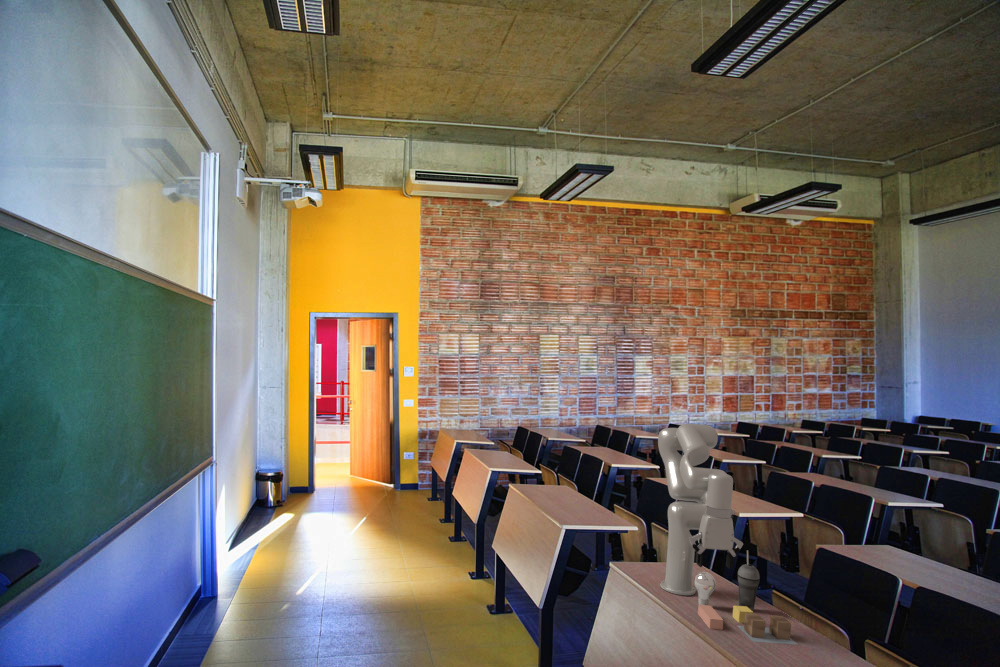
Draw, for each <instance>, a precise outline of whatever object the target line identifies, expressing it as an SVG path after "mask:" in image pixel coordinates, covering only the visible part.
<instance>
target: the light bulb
mask: <svg viewBox="0 0 1000 667" xmlns="http://www.w3.org/2000/svg"><path fill="white" fill-rule="evenodd" d="M693 580H694V581H693V583H694V587H695V588H696V593H697V597H698V600H697V601H698V606H699V605H708V606H709V602H710V601H709V600H710V598H711V595H712V594H713V593H714V591H715V589H716V587H717V586H716V585H717V582H716V579H715V577H714V576H713V575H712V574H711V573H710V572H707V571H700V572H698V573H696V574H695V577H694V579H693Z"/></svg>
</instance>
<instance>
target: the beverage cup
mask: <svg viewBox="0 0 1000 667" xmlns="http://www.w3.org/2000/svg"><path fill="white" fill-rule="evenodd" d="M749 554H750V553H749V550H746V564H742V565H741V566H740V567H739V568H738V571H737V574H736V575H737V581H738V606H747V607H748V608H749V609H750V610H751V611H752V612H754V610H755V606H756V599H757V594H758V586H759V584H760V580H761V578H760V572H759V570H758V569H757V568H756V566H754V565H753V564H750V562H749V561H750V560H749V559H750V558H749Z"/></svg>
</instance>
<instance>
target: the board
mask: <svg viewBox="0 0 1000 667" xmlns="http://www.w3.org/2000/svg"><path fill="white" fill-rule="evenodd" d="M736 627H738V629H739V630H740V631H741V632H742V633H744V634H745V636H746V637H748V639H749V640H750V641H751V642H753V643H767V644H779V645H782V644H783V645H794V646H799V643H797V642H796V641H795V640H794V639H792V638H791V637H790V640H785V639H777V638H776V637H774V636H773V635H772V634H771V633H770V632H769V627H767V626H765V635H764V638H757V637H751V636H750V635H749V634H748V633H747V632H746V631H745V630H744V625H740V624H739V625H736Z"/></svg>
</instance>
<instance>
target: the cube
mask: <svg viewBox="0 0 1000 667" xmlns="http://www.w3.org/2000/svg"><path fill="white" fill-rule="evenodd" d="M745 613H746V614H754V611H751V610H750V609H749V608H748V607H747V606H739V605H733V606H732V618H733V619H734V620H735V621H736V622H737V623H738V624H744V622H745Z"/></svg>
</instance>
